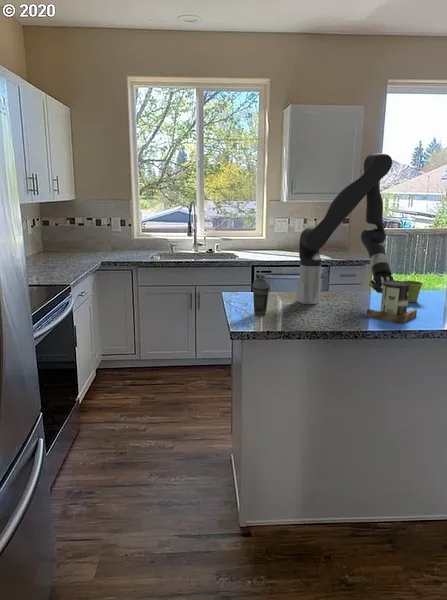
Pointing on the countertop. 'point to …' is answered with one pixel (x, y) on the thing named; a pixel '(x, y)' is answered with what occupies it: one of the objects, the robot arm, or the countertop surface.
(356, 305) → the countertop surface
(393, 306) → the coffee can
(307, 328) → the countertop surface
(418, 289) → the plant pot
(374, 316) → the bracket
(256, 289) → the beverage cup
